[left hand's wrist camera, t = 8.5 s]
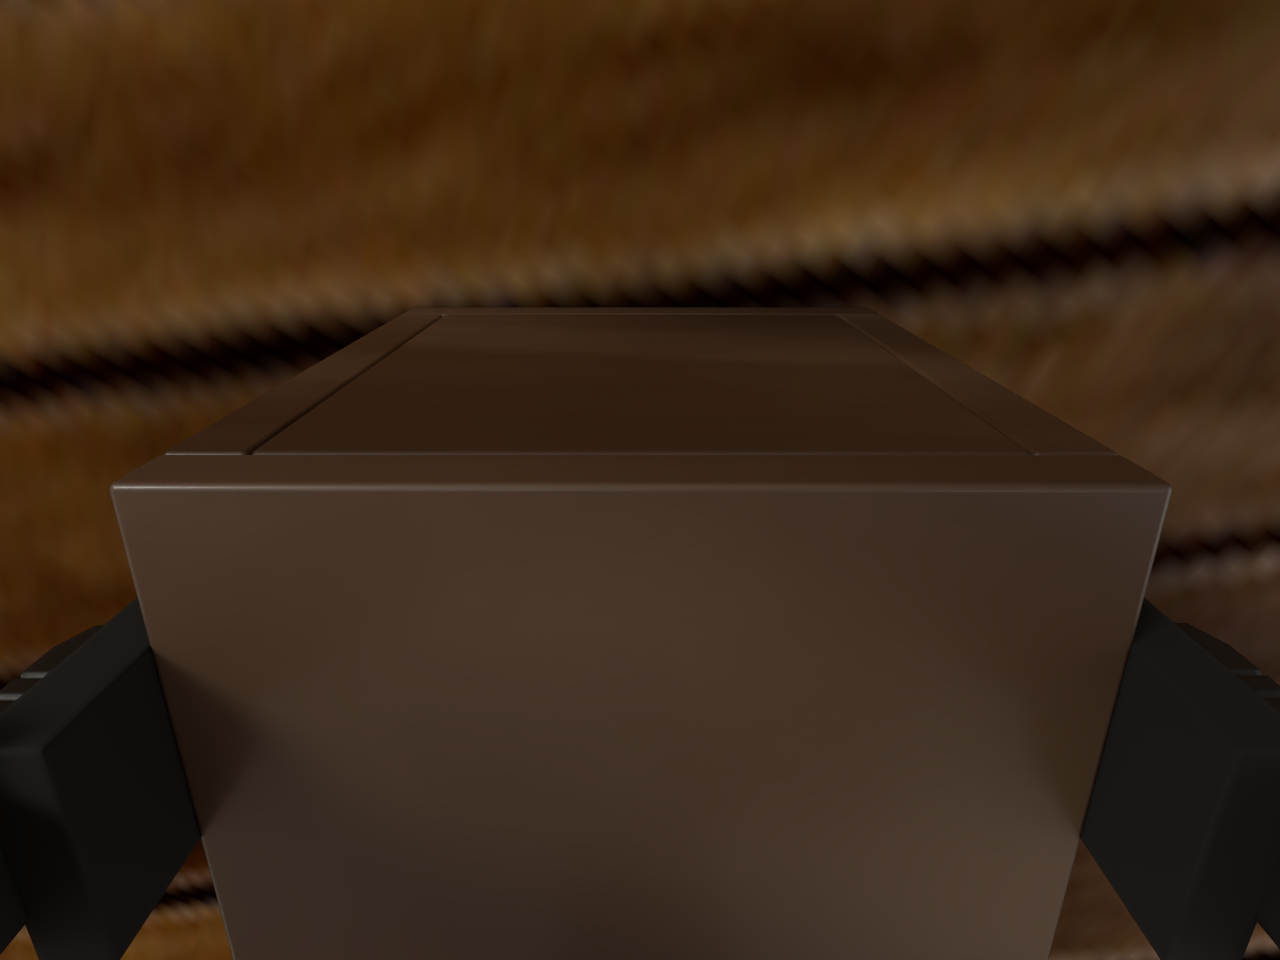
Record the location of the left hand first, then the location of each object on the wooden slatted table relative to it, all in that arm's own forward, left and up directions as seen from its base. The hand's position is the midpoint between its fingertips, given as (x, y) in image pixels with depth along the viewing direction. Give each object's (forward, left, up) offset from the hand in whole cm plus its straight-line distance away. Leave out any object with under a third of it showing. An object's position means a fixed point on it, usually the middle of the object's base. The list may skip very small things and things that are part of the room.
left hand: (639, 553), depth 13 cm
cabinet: (+1, +5, -6) cm, 8 cm away
